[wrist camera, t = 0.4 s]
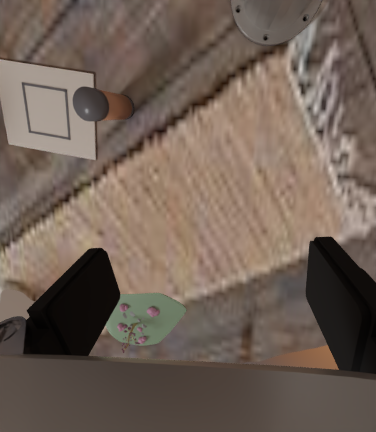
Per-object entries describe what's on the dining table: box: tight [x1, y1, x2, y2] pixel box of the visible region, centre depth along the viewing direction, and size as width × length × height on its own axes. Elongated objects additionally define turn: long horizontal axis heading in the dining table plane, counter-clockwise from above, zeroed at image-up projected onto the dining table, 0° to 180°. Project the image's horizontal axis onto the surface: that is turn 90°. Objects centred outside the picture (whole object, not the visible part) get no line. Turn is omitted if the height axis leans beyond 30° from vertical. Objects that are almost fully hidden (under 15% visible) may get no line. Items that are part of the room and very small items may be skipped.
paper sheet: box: [0, 59, 96, 160], centre depth 43 cm, size 15×19×1 cm
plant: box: [106, 293, 187, 353], centre depth 59 cm, size 25×21×9 cm
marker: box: [73, 86, 134, 121], centre depth 35 cm, size 4×4×12 cm
